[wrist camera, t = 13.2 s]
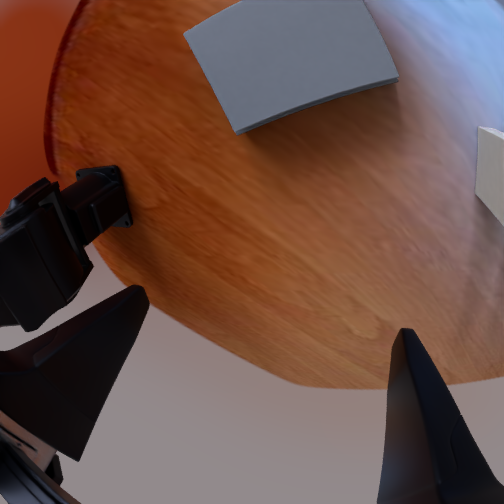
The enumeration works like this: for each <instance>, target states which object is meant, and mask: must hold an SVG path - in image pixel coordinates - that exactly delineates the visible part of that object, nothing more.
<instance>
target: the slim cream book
mask: <svg viewBox="0 0 504 504" xmlns="http://www.w3.org/2000/svg"><path fill="white" fill-rule="evenodd" d="M475 194H476V195H477V196H478V197H479V198H480V199H481V200H482V202H483V203H484V204H485V205H486V206H487V207H488V209H489V210H490V211H491V212H492V213H493V214H494V216H495V217H496V218H497V219H498V221H499V222H500V223H501V224H502V226H503V227H504V133H503V132H501V131H498V130H496V129H494V128H487V127H479V126H478V154H477V173H476V185H475Z"/></svg>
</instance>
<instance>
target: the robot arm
mask: <svg viewBox="0 0 504 504" xmlns="http://www.w3.org/2000/svg"><path fill="white" fill-rule="evenodd" d="M114 171H115V172H114ZM76 178H77V182H75V183H74V184H72V185H70V186H69V187H67V188H65V189H64V190H63V191H61V192H60V189H59V184H58V181H57V182H53V183H50V181H49V180H48V179H46V177H44V178H42V179H40V180H38V181H36V182H35V183H33V184H32V185H30V186H29V187H27V188H26V189H24V190H23V191H22V192H20V193H19V194H18V195H17V196H15V197H14V198H13V199H12V200H11V201H10V204H9V208H8V209H7V210H6V211H5V213H4V214H3V215H2V216H1V217H0V223H1V225H0V327H3V326H16V325H21V327H22V328H23V329H24V331H25V332H30V331H34V330H37V329H38V328H39V327H40V326H41V325H42V324H43V323H44V322H45V321H46V320H47V319H48V318H49V317H50V316H51V315H52V314H54V313H55V312H56V311H58V310H59V309H61V308H63V307H65V306H67V305H68V304H69V303H70V302H71V301H72V300H73V299H74V298H75V297H76V295H77V294H78V292H79V290H80V288H81V287H82V285H83V283H84V282H85V280H86V279H87V277H88V275H89V274H90V272H91V270H92V269H93V267H94V266H93V264H92V262H91V261H90V260H89V257H88V255H87V253H86V251H85V249H84V248H85V247H86V246H87V245H89V243H91V242H92V241H93V240H94V239H96V238H97V237H98V236H99V235H100V234H101V233H103V232H104V231H106V230H107V229H108V228H109V227H110V226H115V227H126V228H129V227H131V226H132V225H133V220H132V217H131V213H130V210H129V206H128V202H127V199H126V195H125V191H124V187H123V183H122V179H121V174H120V170H119V168H118V166H116V165H111V166H102V167H93V168H86V169H79V170H78V171H76ZM149 305H150V303H149V299H148V297H147V294H146V292H145V289H144V288H143V287H142V286H139V285H131V286H129V287H127V288H126V289H124V290H122V291H120V292H118V293H116V294H114V295H113V296H111V297H109V298H107V299H105V300H103V301H102V302H100V303H98V304H96V305H95V306H93V307H91V308H89V309H87V310H85V311H84V312H82V313H80V314H78V315H76V316H75V317H73V318H71V319H69V320H68V321H66V322H64V323H62V324H60V325H59V326H57V327H55V328H53V329H52V330H50V331H48V332H46V333H44V334H42V335H40V336H38V337H37V338H34V339H32V340H30V341H28V342H26V343H24V344H22V345H20V346H18V347H16V348H14V349H11V350H8V351H0V494H1V495H2V496H3V498H4V499H5V500H6V501H7V502H8V504H81V503H80V502H78V501H77V500H76V499H75V498H73V497H72V496H71V495H70V494H68V493H67V492H66V491H65V490H63V489H62V488H61V487H60V484H61V483H62V481H63V476H62V471H61V466H60V461H59V456H58V455H57V454H55V453H56V452H57V450H58V451H59V452H61V453H63V454H64V455H66V456H68V457H70V458H72V459H73V460H75V461H77V462H79V460H80V458H81V456H82V454H83V451H84V449H85V446H86V444H87V442H88V439H89V437H90V435H91V432H92V430H93V428H94V425H95V423H96V421H97V418H98V416H99V414H100V412H101V410H102V408H103V405H104V403H105V401H106V399H107V397H108V395H109V393H110V391H111V389H112V386H113V384H114V382H115V380H116V378H117V376H118V374H119V372H120V370H121V368H122V366H123V364H124V362H125V360H126V358H127V356H128V354H129V352H130V350H131V348H132V347H133V345H134V342H135V340H136V338H137V336H138V333H139V331H140V328H141V326H142V324H143V321H144V319H145V316H146V314H147V311H148V309H149ZM460 414H461V413H460V411H459V409H458V407H457V405H456V403H455V401H454V399H453V397H452V395H451V393H450V391H449V390H448V388H447V386H446V384H445V382H444V380H443V379H442V377H441V375H440V373H439V371H438V370H437V368H436V366H435V364H434V363H433V361H432V359H431V358H430V356H429V354H428V352H427V351H426V349H425V347H424V346H423V344H422V343H421V341H420V339H419V338H418V336H417V334H416V333H415V331H414V330H413V329H410V328H401V329H400V330H399V332H398V335H397V337H396V339H395V341H394V343H393V346H392V352H391V364H390V373H389V382H388V390H387V413H386V432H385V445H384V455H383V465H382V472H381V479H380V486H379V493H378V498H377V504H504V486H503V485H502V484H501V483H500V482H499V481H498V480H497V479H496V477H495V476H494V474H493V473H492V471H491V469H490V467H489V465H488V464H487V462H486V460H485V458H484V456H483V455H482V453H481V451H480V450H479V448H478V446H477V444H476V442H475V441H474V439H473V437H472V435H471V433H470V431H469V429H468V427H467V425H466V423H465V421H464V419H463V417H462V415H460Z"/></svg>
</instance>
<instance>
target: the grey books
mask: <svg viewBox="0 0 504 504" xmlns="http://www.w3.org/2000/svg"><path fill="white" fill-rule="evenodd" d="M183 35H184V36H185V38H186V40H187V42H188V44H189V45H190V47H191V49H192V51H193V53H194V55H195V57H196V58H197V60H198V62H199V64H200V66H201V68H202V70H203V71H204V73H205V75H206V77H207V79H208V81H209V83H210V85H211V87H212V89H213V91H214V93H215V94H216V96H217V98H218V100H219V102H220V104H221V106H222V108H223V110H224V112H225V114H226V116H227V118H228V120H229V122H230V124H231V126H232V128H233V130H234V132H236V134H237V135H240V134H242V133H245V132H247V131H249V130H252V129H254V128H256V127H259V126H261V125H264V124H266V123H269V122H271V121H274V120H276V119H279V118H282V117H284V116H287V115H289V114H292V113H295V112H298V111H300V110H303V109H306V108H309V107H312V106H315V105H318V104H321V103H324V102H327V101H330V100H333V99H336V98H340V97H343V96H346V95H350V94H353V93H356V92H360V91H364V90H367V89H371V88H375V87H379V86H383V85H387V84H391V83H395V82H398V79H397V78H398V77H399V74H398V72H397V69H396V67H395V64H394V62H393V60H392V57H391V55H390V53H389V50H388V48H387V46H386V44H385V42H384V40H383V38H382V36H381V34H380V32H379V30H378V28H377V26H376V24H375V22H374V20H373V18H372V16H371V14H370V13H369V11H368V9H367V7H366V5H365V4H364V2H363V0H242V1H240V2H238V3H236V4H234V5H232V6H230V7H228V8H226V9H224V10H222V11H221V12H219V13H217V14H215V15H213V16H212V17H210V18H208V19H206V20H205V21H203V22H201V23H200V24H198V25H196V26H195V27H193V28H192V29H190V30H188V31H187V32H185V33H184V34H183Z"/></svg>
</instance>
